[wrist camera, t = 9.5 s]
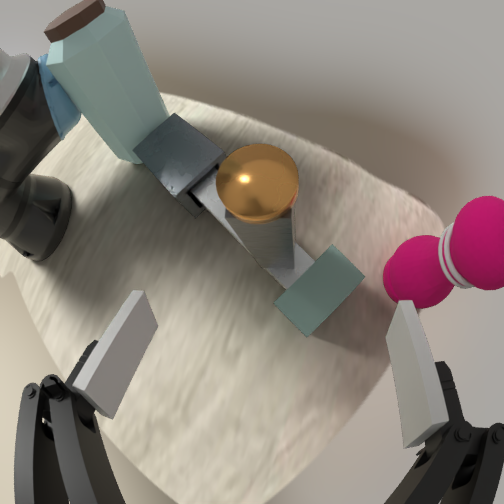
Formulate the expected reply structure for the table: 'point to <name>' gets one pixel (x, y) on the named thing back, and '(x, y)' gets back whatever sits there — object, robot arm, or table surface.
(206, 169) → the charcoal rectangular brick
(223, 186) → the gray hammer
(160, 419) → the table surface
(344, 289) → the socket block
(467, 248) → the pepper mill
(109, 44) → the water bottle
